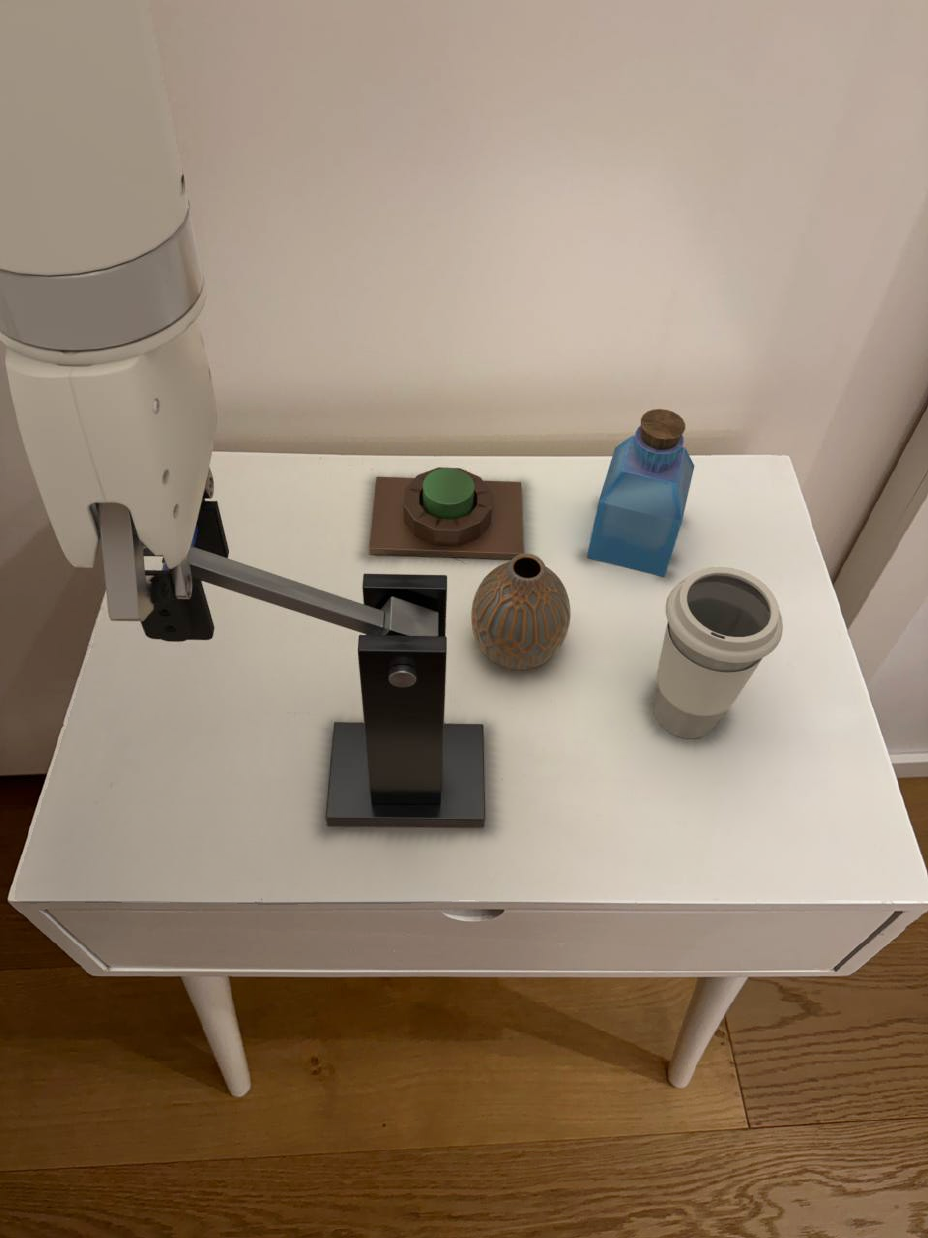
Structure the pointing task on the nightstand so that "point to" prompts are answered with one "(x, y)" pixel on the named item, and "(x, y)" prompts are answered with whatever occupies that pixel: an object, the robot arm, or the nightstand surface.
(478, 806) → the switch bracket
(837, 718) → the nightstand surface
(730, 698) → the cup
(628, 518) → the perfume bottle
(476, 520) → the button block
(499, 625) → the vase
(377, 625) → the light lever
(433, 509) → the light button
